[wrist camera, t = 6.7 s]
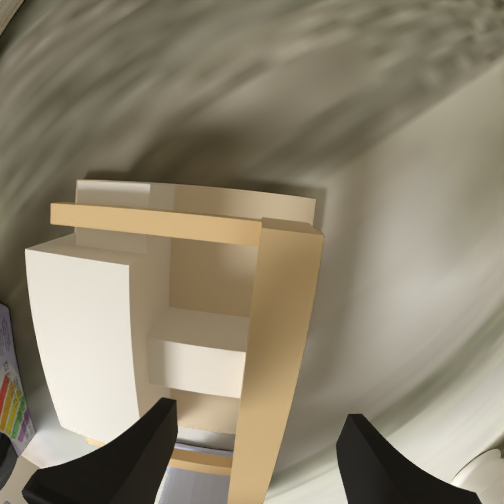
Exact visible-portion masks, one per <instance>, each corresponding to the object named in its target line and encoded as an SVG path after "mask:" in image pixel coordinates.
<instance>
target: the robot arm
mask: <svg viewBox="0 0 504 504" xmlns="http://www.w3.org/2000/svg"><path fill="white" fill-rule="evenodd" d="M177 434H178V423H177V400H175V399H169V398H165V397H162V398H160V399H159V400H158V401H157V402H156V403H155V404H154V405H153V407H152V408H151V409H150V410H149V411H147V412H146V413H145V414H144V415H143V416H142V417H141V418H140V419H139V420H138V421H137V422H135V423H134V424H133V425H132V426H131V427H130V428H128V429H127V430H126V431H124V432H123V433H122V434H121V435H119V436H118V437H116V438H115V439H114V440H112V441H111V442H109V443H107V444H106V445H104V446H102V447H101V448H99V449H97V450H95V451H93V452H91V453H89V454H87V455H85V456H83V457H80V458H78V459H75V460H72V461H69V462H67V463H64V464H61V465H57V466H53V467H48V468H44V469H38V470H37V471H36V472H35V473H34V474H33V475H32V476H31V478H30V479H29V481H28V482H27V484H26V485H25V487H24V489H23V490H22V495H23V497H24V499H25V500H26V501H27V503H28V504H154V502H155V498H156V495H157V492H158V489H159V486H160V484H161V481H162V479H163V476H164V474H165V471H166V469H167V478H166V481H165V484H164V487H163V491H162V494H161V497H160V501H159V504H227V501H228V492H229V483H230V476H223V475H216V474H209V473H202V472H196V471H190V470H185V469H180V468H175V467H170V466H168V464H169V461H170V459H171V456H172V453H173V450H174V448H178V449H183V450H188V451H194V452H200V453H206V454H213V455H220V456H228V457H233V452H230V451H222V450H215V449H208V448H201V447H195V446H190V445H184V444H179V443H175V442H176V438H177ZM336 450H337V459H338V466H339V470H340V474H341V477H342V481H343V485H344V489H345V493H346V496H347V500H348V504H482V503H481V501H480V499H479V497H478V495H477V494H476V492H472V491H469V490H465V489H462V488H459V487H456V486H453V485H451V484H448V483H446V482H444V481H442V480H440V479H438V478H436V477H434V476H432V475H430V474H429V473H427V472H425V471H424V470H422V469H420V468H419V467H418V466H416V465H415V464H413V463H412V462H411V461H409V460H408V459H407V458H405V457H404V456H403V455H402V454H401V453H400V452H398V451H397V450H396V449H395V448H394V447H393V446H392V445H391V444H390V443H389V442H388V441H387V440H386V439H385V438H384V437H383V436H382V435H381V434H380V433H379V432H378V431H377V430H376V429H375V428H374V427H373V425H372V424H371V423H370V422H369V421H368V420H367V419H366V418H365V417H364V416H363V415H362V414H348V417H347V419H346V422H345V424H344V427H343V429H342V432H341V434H340V437H339V439H338V441H337V444H336ZM4 504H11V503H10V502H8V501H5V503H4Z"/></svg>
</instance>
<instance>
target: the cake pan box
mask: <svg viewBox="0 0 504 504" xmlns="http://www.w3.org/2000/svg"><path fill="white" fill-rule="evenodd" d="M35 434H36V433H35V430H34V427H33V424H32V421H31V417H30V414H29V411H28V408H27V404H26V400H25V396H24V393H23V389H22V384H21V380H20V376H19V371H18V366H17V361H16V356H15V350H14V344H13V338H12V331H11V324H10V315H9V309H8V308H7V307H6V306H4V305H2V304H0V490H1V489H2V488H3V487H4V485H5V484H6V482H7V481H8V479H9V477H10V476H11V474H12V471H13V469H14V467H15V464H16V461H17V458H18V457H19V456H20V455H21V454H22V452H23V451H24V450H25V448H26V447H27V445H28V444H29V442H30V441H31V440H32V439H33V437H34V436H35Z"/></svg>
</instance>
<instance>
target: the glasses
mask: <svg viewBox="0 0 504 504" xmlns="http://www.w3.org/2000/svg"><path fill="white" fill-rule="evenodd" d="M51 224H56V225H65V226H75V227H84V228H93V229H103V230H112V231H121V232H130V233H139V234H149V235H158V236H167V237H176V238H185V239H194V240H202V241H211V242H220V243H229V244H238V245H246V246H255V247H258V254H257V263H256V271H255V279H254V288H253V296H252V305H251V313H250V321H249V329H248V338H247V346H246V354H245V362H244V370H243V378H242V386H241V395H240V403H239V411H238V419H237V426H236V434H235V442H234V450H233V457H228V456H220V455H213V454H206V453H200V452H194V451H188V450H183V449H178V448H174V450H173V453H172V456H171V459H170V461H169V464H168V466H170V467H175V468H180V469H185V470H190V471H196V472H202V473H209V474H216V475H223V476H230V483H229V492H228V501H227V504H263V502H264V499H265V496H266V493H267V489H268V486H269V483H270V480H271V476H272V473H273V470H274V466H275V463H276V460H277V456H278V453H279V449H280V446H281V442H282V438H283V435H284V431H285V427H286V423H287V420H288V416H289V412H290V408H291V404H292V400H293V396H294V392H295V387H296V383H297V379H298V375H299V370H300V366H301V361H302V357H303V352H304V347H305V343H306V338H307V333H308V328H309V323H310V318H311V313H312V308H313V302H314V297H315V291H316V286H317V280H318V274H319V268H320V262H321V256H322V250H323V243H324V237H325V235H323V234H322V233H321V232H320V231H318V230H317V229H316V228H315V227H313V226H312V225H311V224H309V223H307V222H299V221H291V220H283V219H275V218H267V217H262V219H255V218H246V217H237V216H228V215H218V214H208V213H198V212H188V211H178V210H167V209H155V208H144V207H131V206H119V205H105V204H91V203H75V202H57V203H51ZM85 438H86V441H87V442H88V443H90V444H93V445H96V446H99V447H102V446H104V445H106V443H103V442H100V441H97V440H94V439H91V438H89V437H86V436H85Z"/></svg>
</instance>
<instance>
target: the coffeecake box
mask: <svg viewBox="0 0 504 504" xmlns="http://www.w3.org/2000/svg"><path fill="white" fill-rule="evenodd" d="M23 1H24V0H0V35H1V34H2V32H3V31H4V29H5V27H6V26H7V24H8V23H9V21H10V20H11V18H12V17H13V15H14V14H15V12H16V11H17V10H18V8H19V7H20V5H21V4H22V3H23Z"/></svg>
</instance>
